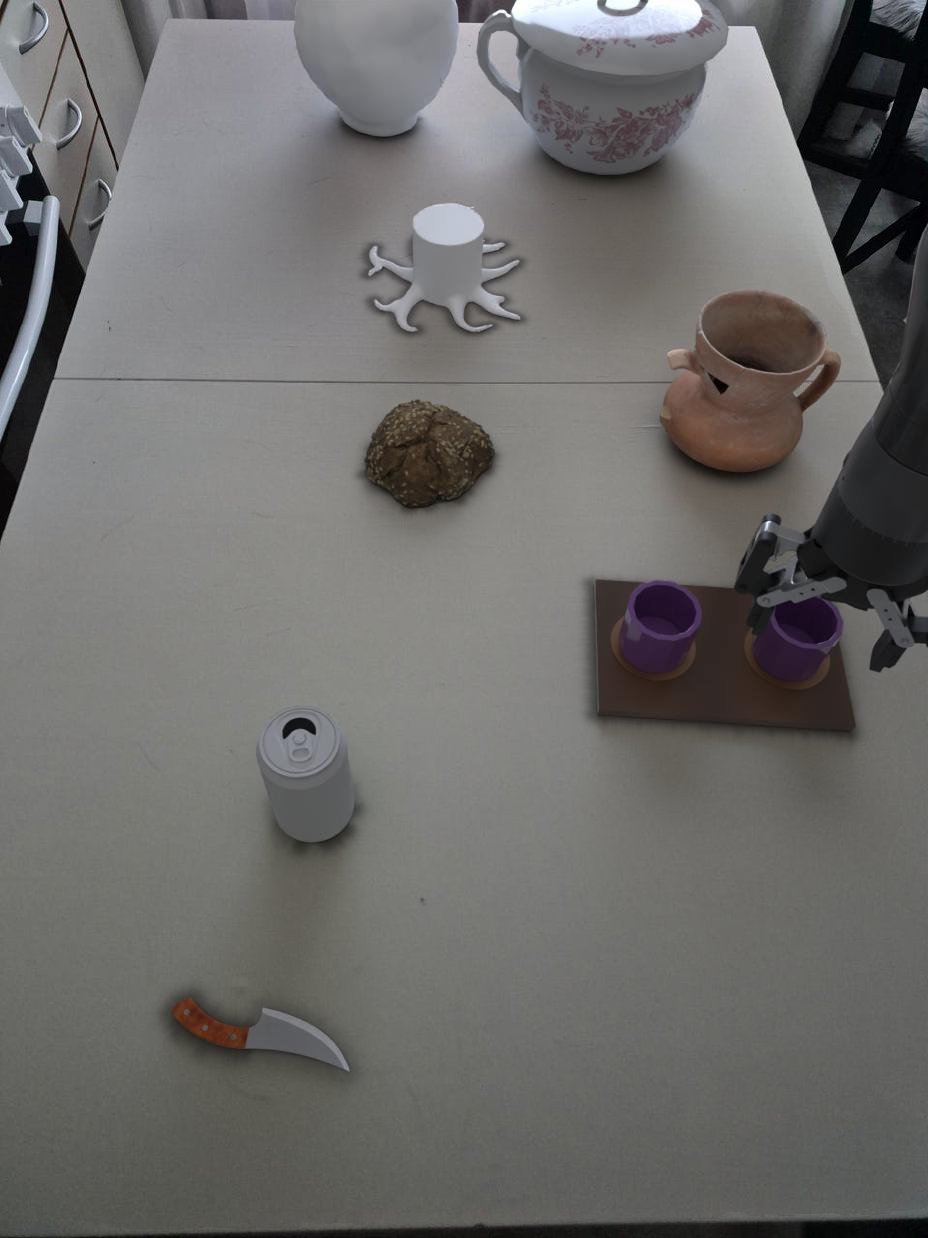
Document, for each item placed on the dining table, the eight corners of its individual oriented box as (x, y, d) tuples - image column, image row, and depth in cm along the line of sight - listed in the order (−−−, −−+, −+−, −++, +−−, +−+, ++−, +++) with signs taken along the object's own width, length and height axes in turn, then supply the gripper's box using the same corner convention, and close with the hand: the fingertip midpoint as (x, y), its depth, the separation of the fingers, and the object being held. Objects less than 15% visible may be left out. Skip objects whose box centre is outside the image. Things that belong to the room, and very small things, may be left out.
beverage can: (350, 766, 79) (340, 693, 70) (359, 840, 76) (349, 774, 66) (272, 777, 79) (251, 705, 69) (277, 852, 75) (255, 787, 65)
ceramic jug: (658, 488, 98) (690, 381, 87) (635, 390, 106) (661, 280, 95) (829, 485, 99) (884, 379, 88) (794, 388, 108) (839, 279, 96)
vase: (277, 123, 135) (244, -137, 110) (381, 68, 145) (373, -182, 120) (374, 174, 129) (363, -89, 104) (477, 113, 138) (488, -141, 114)
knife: (360, 1029, 67) (348, 1075, 66) (360, 1031, 68) (349, 1076, 66) (179, 987, 68) (163, 1031, 67) (180, 989, 69) (165, 1033, 67)
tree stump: (536, 246, 121) (543, 186, 114) (514, 347, 110) (519, 286, 103) (380, 225, 122) (378, 164, 116) (343, 322, 111) (337, 261, 105)
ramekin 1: (700, 662, 85) (715, 627, 81) (636, 682, 84) (648, 649, 79) (667, 607, 88) (680, 572, 84) (605, 626, 87) (615, 591, 83)
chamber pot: (736, 150, 135) (782, -14, 118) (615, 229, 123) (646, 60, 106) (583, 75, 146) (604, -85, 129) (457, 142, 134) (463, -24, 117)
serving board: (826, 600, 91) (830, 593, 90) (852, 731, 83) (856, 725, 82) (593, 584, 91) (595, 577, 90) (597, 715, 83) (599, 708, 82)
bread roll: (406, 403, 104) (406, 367, 100) (507, 446, 101) (510, 411, 97) (339, 477, 98) (336, 442, 94) (445, 526, 94) (445, 492, 90)
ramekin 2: (835, 669, 85) (858, 636, 81) (773, 690, 84) (793, 657, 79) (797, 615, 88) (817, 580, 84) (737, 634, 87) (755, 599, 83)
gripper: (773, 502, 56) (709, 655, 70) (1027, 571, 54) (911, 716, 67) (793, 419, 61) (729, 578, 74) (1030, 480, 58) (920, 633, 71)
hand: (816, 644), depth 70 cm, fingers open, 8 cm apart
